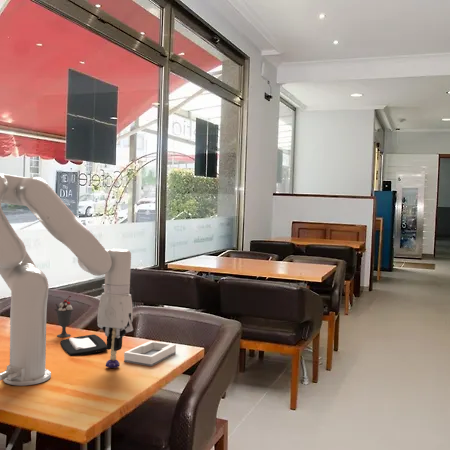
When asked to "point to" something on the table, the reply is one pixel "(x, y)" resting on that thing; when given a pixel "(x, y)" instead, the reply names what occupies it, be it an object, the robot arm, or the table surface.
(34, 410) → the table surface
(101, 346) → the light switch
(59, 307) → the sundae
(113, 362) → the toy lamp
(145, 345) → the white rimmed dish
